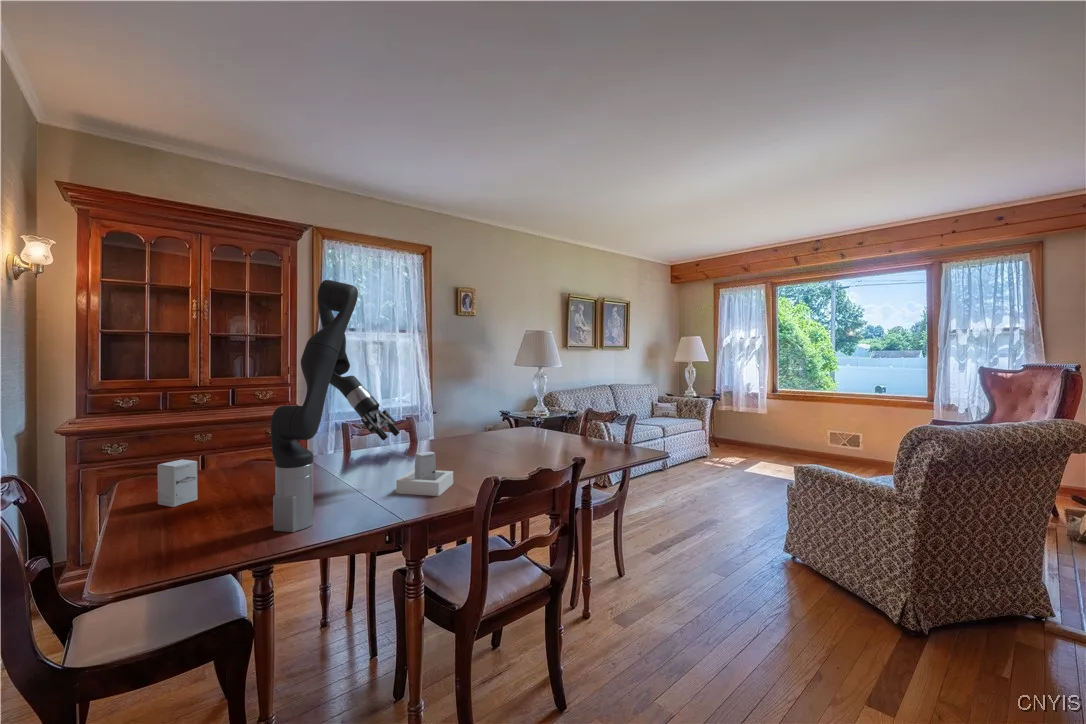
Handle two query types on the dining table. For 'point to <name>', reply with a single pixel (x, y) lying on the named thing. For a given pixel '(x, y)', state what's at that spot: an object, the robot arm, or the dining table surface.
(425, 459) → the skincare box
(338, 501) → the dining table surface
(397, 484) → the well holder
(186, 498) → the supplement box
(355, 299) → the robot arm
